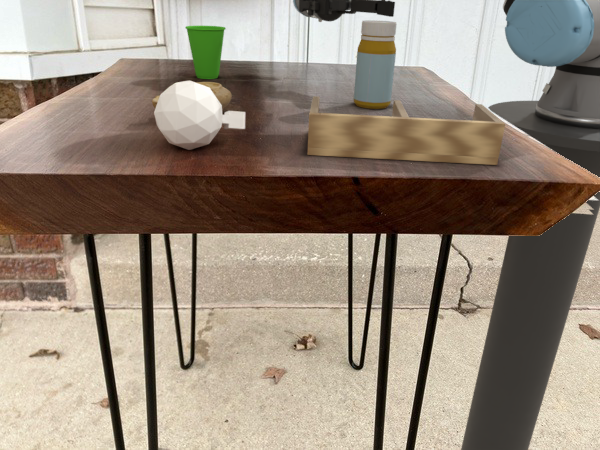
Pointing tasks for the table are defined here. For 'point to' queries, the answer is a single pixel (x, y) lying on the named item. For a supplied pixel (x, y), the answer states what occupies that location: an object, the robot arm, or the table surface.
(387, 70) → the bottle
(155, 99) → the oil lamp
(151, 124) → the table surface
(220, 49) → the cup
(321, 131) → the rack
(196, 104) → the perfume bottle
